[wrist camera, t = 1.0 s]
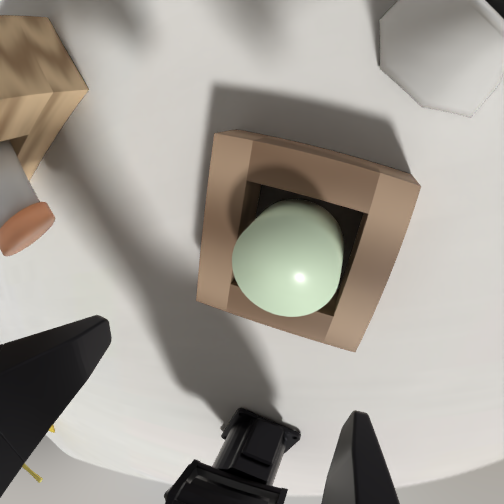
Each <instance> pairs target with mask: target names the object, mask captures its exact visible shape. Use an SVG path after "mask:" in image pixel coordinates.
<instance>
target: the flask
mask: <svg viewBox="0 0 504 504" xmlns="http://www.w3.org/2000/svg"><path fill="white" fill-rule="evenodd" d="M380 69H381V70H382V71H383V72H384V73H385V74H387V75H388V76H389V77H390V78H391V79H392V80H393V81H395V82H396V83H397V84H398V85H399V86H400V87H401V88H402V89H403V90H404V91H406V92H407V93H408V94H409V95H410V96H411V97H412V98H413V99H414V100H415V101H416V102H417V103H418V104H419V105H420V106H421V107H424V108H430V109H435V110H440V111H444V112H449V113H453V114H458V115H462V116H466V117H470V118H471V117H472V116H473V114H474V113H475V112H476V111H477V110H478V109H479V108H480V106H481V105H482V104H483V103H484V102H485V101H486V99H487V98H488V97H489V96H490V95H491V94H492V92H493V91H494V90H495V89H496V88H497V86H498V85H499V84H500V81H501V79H502V76H503V73H504V0H398V1H397V2H396V3H395V4H394V5H393V6H392V7H391V8H390V9H389V10H388V11H387V13H386V14H385V15H384V16H383V17H382V18H381V19H380Z"/></svg>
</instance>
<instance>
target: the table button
mask: <svg viewBox="0 0 504 504" xmlns="http://www.w3.org/2000/svg"><path fill="white" fill-rule="evenodd" d="M343 255H344V237H343V234H342V231H341V228H340V226H339V224H338V223H337V221H336V220H335V218H334V217H333V216H332V215H331V214H330V213H329V212H328V211H327V210H326V209H324V208H323V207H321V206H320V205H318V204H316V203H314V202H311V201H308V200H303V199H287V200H282V201H279V202H276V203H274V204H272V205H271V206H269V207H268V208H267V209H265V210H264V211H263V212H262V213H261V214H260V215H259V216H258V217H257V218H256V219H255V220H254V221H253V222H252V223H251V224H250V226H249V227H248V228H247V229H246V230H245V231H244V232H243V233H242V234H241V235H240V237H239V238H238V240H237V242H236V244H235V246H234V249H233V254H232V268H233V273H234V276H235V279H236V282H237V284H238V286H239V287H240V289H241V290H242V292H243V293H244V294H245V296H246V297H247V298H248V299H249V300H250V301H252V302H253V303H254V304H255V305H257V306H258V307H260V308H261V309H263V310H265V311H267V312H270V313H273V314H276V315H280V316H286V317H297V316H304V315H308V314H311V313H313V312H315V311H317V310H319V309H320V308H322V307H323V306H325V305H326V304H327V303H328V302H329V301H330V299H331V298H332V297H333V295H334V294H335V292H336V289H337V287H338V284H339V280H340V274H341V268H342V262H343Z"/></svg>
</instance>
